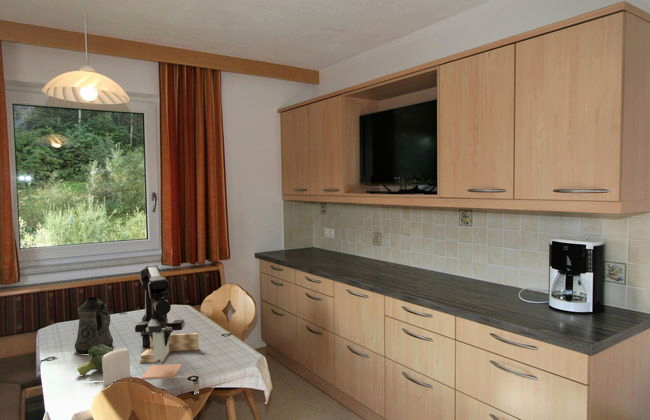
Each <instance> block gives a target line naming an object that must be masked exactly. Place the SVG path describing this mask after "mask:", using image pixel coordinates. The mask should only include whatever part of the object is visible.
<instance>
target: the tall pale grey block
mask: <svg viewBox="0 0 650 420" xmlns="http://www.w3.org/2000/svg"><path fill="white" fill-rule="evenodd" d="M165 331H166V328H163V329H162V330H161V332H154V333H153V351H154V360H158V361H160V360H163V359H164V357H165V356H166V355H167V353H168V352H169V340H168V343H167V346H165Z"/></svg>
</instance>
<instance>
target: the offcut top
mask: <svg viewBox="0 0 650 420" xmlns="http://www.w3.org/2000/svg"><path fill="white" fill-rule="evenodd" d="M143 351H144V352H143V353H141V354H140V358H141V359H148V358H154V351H153V349H150V348H147V349H145V350H143Z"/></svg>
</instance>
